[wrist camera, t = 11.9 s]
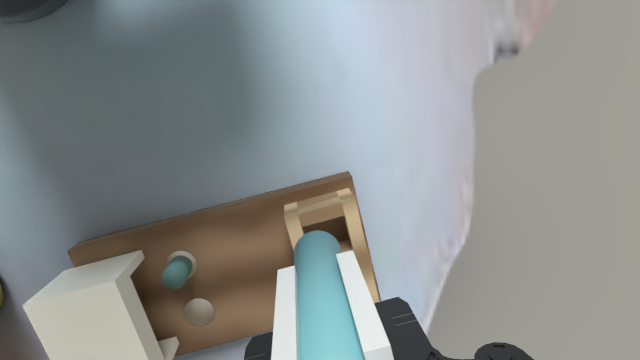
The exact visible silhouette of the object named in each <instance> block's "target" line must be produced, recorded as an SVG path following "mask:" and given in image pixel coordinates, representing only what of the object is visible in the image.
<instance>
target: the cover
mask: <svg viewBox="0 0 640 360" xmlns="http://www.w3.org/2000/svg"><path fill="white" fill-rule="evenodd" d="M144 258H145V257H144V254H143V252H142V250H139V251H135V252H131V253H127V254H124V255H120V256H116V257H112V258H109V259H105V260H101V261H97V262H94V263H90V264H86V265H82V266H79V267H75V268H71V269H67V270H64V271H63V272H62V273H60V274H59V275H58V276H57V277H56V278H54V279H53V280H52V281H51V282H50V283H48V284H47V285H46V286H45V287H44V288H42V289H41V290H40V291H39V292H38V293H36V294H35V295H34V296H33V297H32V298H30V299H29V300H28V301H27V302H26V303H24V304H23V305H22V306H23V308H24V310H25V312H26V314H27V316H28V318H29V320H30V322H31V324H32V326H33V328H34V330H35V332H36V334H37V336H38V337H39V339H40V341H41V343H42V345H43V347H44V349H45V351H46V353H47V355H48V357H49V359H50V360H173V357H174V355H175V353H176V350H177V348H178V345H179V341H178V339H177V336H176V337H172V338H169V339H165V340H161V341H157V340H156V337H155V335H154V332H153V330H152V328H151V325H150V323H149V320H148V318H147V316H146V313H145V311H144V309H143V306H142V304H141V301H140V299H139V297H138V294H137V292H136V290H135V287H134V285H133V282H132V280H131V278H130V275H131V274H132V273H133V272H134V270H135V269H136V268H137V267H138V265H139V264H140V263H141V262H142V261H143V259H144Z"/></svg>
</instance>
